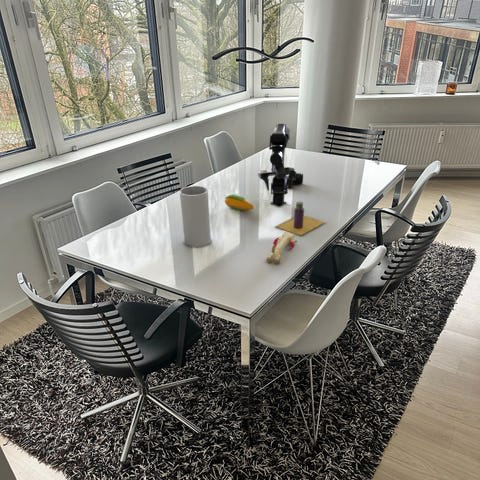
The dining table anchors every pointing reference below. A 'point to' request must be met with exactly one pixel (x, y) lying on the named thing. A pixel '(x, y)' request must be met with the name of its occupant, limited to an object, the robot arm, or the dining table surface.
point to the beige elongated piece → (281, 246)
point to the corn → (238, 203)
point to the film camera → (295, 180)
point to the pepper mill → (298, 215)
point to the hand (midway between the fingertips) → (276, 189)
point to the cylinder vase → (195, 215)
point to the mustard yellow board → (307, 226)
